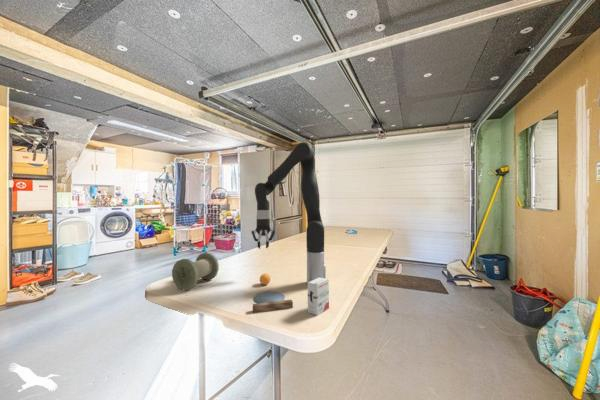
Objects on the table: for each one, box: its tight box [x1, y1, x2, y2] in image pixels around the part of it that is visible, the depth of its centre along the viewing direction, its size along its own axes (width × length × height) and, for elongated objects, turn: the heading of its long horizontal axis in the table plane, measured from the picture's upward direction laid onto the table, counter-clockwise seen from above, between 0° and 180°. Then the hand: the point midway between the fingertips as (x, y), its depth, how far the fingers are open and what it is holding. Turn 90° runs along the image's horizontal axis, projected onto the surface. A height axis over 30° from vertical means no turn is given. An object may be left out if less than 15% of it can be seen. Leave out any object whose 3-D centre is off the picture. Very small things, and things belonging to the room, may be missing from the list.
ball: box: [259, 273, 271, 286], centre depth 116 cm, size 6×6×6 cm
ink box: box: [307, 277, 330, 316], centre depth 89 cm, size 8×5×12 cm, turn 140°
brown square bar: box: [252, 299, 294, 314], centre depth 89 cm, size 16×2×2 cm, turn 105°
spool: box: [171, 252, 220, 291], centre depth 117 cm, size 16×15×15 cm
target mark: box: [253, 290, 286, 304], centre depth 100 cm, size 14×14×1 cm
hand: (263, 248), depth 126 cm, fingers open, 3 cm apart
